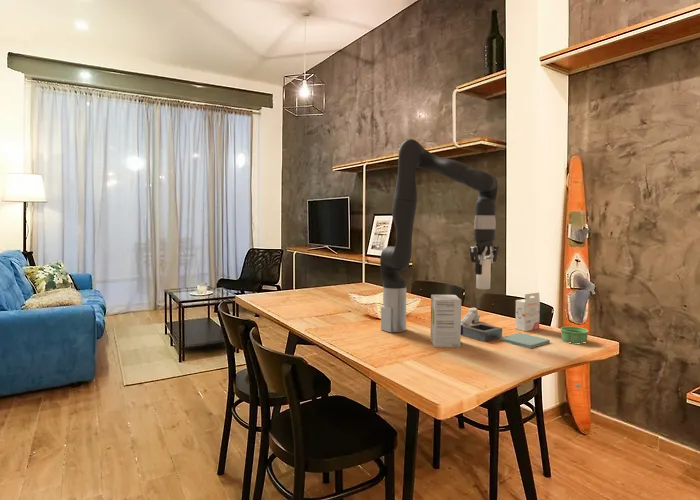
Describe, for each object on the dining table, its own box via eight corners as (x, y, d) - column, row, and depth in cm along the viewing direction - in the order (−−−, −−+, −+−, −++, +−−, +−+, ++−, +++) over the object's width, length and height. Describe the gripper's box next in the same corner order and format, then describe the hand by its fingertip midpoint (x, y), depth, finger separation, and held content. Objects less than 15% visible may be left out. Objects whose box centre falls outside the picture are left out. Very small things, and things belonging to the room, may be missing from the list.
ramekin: (576, 346, 152) (576, 333, 151) (554, 339, 160) (555, 327, 159) (594, 343, 155) (594, 331, 155) (572, 336, 163) (572, 325, 163)
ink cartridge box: (529, 326, 179) (530, 290, 178) (539, 328, 175) (540, 292, 174) (514, 328, 175) (515, 292, 174) (524, 331, 171) (525, 294, 170)
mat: (530, 348, 149) (530, 345, 149) (499, 340, 158) (500, 337, 158) (549, 342, 156) (549, 339, 155) (519, 335, 165) (519, 332, 165)
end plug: (484, 289, 158) (485, 259, 158) (473, 288, 162) (474, 258, 162) (493, 288, 161) (493, 259, 160) (482, 286, 165) (482, 258, 165)
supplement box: (429, 339, 160) (430, 294, 159) (455, 339, 160) (456, 294, 158) (434, 347, 150) (434, 299, 149) (461, 347, 150) (461, 299, 149)
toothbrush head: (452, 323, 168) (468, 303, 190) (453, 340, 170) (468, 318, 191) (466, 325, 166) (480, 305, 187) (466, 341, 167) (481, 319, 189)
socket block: (484, 341, 157) (485, 332, 156) (462, 335, 165) (463, 326, 165) (502, 337, 162) (502, 328, 162) (480, 331, 170) (480, 322, 170)
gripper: (480, 228, 153) (479, 276, 154) (505, 228, 161) (504, 273, 162) (463, 228, 159) (462, 274, 161) (488, 227, 167) (487, 271, 169)
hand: (483, 273), depth 161 cm, fingers closed on end plug, 5 cm apart
